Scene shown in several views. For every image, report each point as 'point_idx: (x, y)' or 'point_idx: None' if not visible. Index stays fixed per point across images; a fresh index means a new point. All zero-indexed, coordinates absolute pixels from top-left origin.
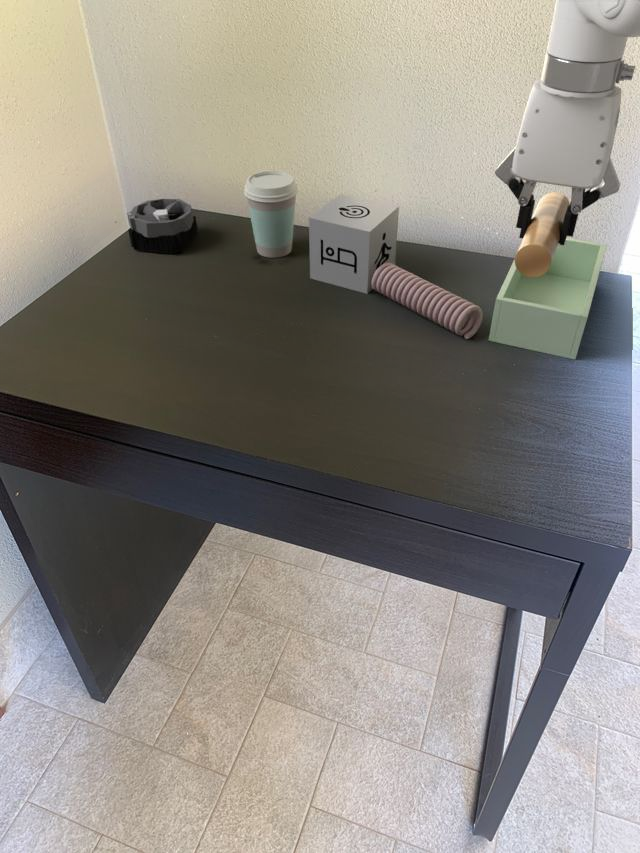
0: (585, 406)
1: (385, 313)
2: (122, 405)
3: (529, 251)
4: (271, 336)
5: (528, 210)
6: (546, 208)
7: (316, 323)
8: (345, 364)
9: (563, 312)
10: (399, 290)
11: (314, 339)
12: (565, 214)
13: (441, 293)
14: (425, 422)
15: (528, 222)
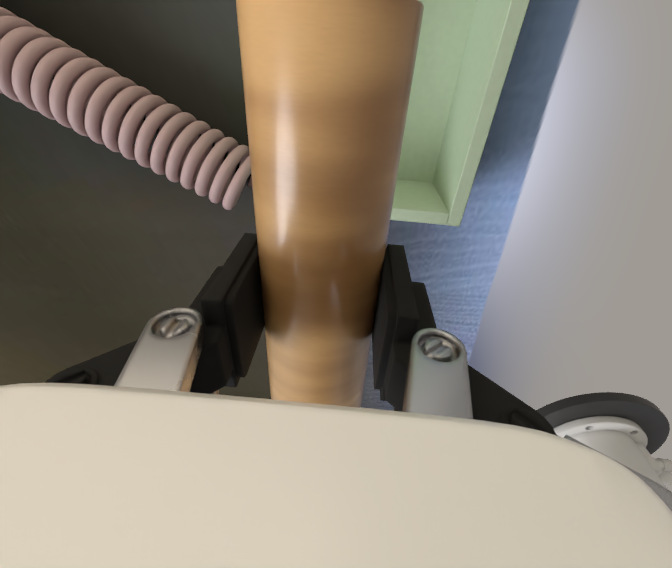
0: (440, 291)
1: (91, 142)
2: (11, 384)
3: None
4: (7, 259)
5: (237, 379)
6: (297, 262)
7: (25, 210)
8: (134, 288)
9: (410, 221)
10: (69, 127)
11: (59, 250)
12: (376, 388)
13: (156, 157)
14: (266, 351)
15: (258, 341)
